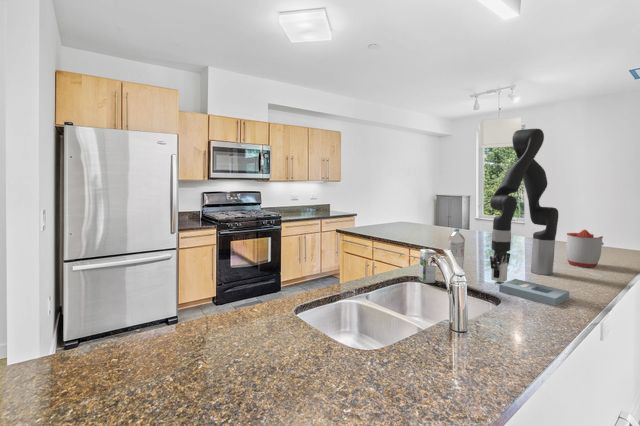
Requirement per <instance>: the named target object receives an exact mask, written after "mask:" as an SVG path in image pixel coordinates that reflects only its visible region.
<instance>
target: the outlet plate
mask: <svg viewBox="0 0 640 426" xmlns="http://www.w3.org/2000/svg"><path fill="white" fill-rule="evenodd" d="M498 291H499V293H503V294H506V295H511V296H515V297H519V298H521V299H525V300H529V301H533V302H535V303H536V302H537V303H541V304H543V305H547V306H551V307H556V306H559V305H560V304H562V303H564V302H566V301H568V300H569V299H570V291H569V290H567V289H561V288H557V287H552V286H549V285H543V284H540V283H535V282H531V281H526V280H522V279H519V278H518V279H517V278H514V279H511V280H509V281H508V280H507V281H504V282H501V283H499V286H498Z"/></svg>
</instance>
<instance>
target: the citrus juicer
mask: <svg viewBox="0 0 640 426" xmlns="http://www.w3.org/2000/svg"><path fill="white" fill-rule="evenodd" d="M603 238H604V236H598V237H594V234H593V233H590V232H589V231H588V230H587V229H583V230H581V231H580V232H567V233H566V246H565V253H566V258H567V259H566V260H567V262H568V264H569V265H571V266H574V267H575V266H576V267H579V268H596V267H597V265H598V264H599V261H600V259H601V256H602V248H603V247H602V246H604V242H603Z"/></svg>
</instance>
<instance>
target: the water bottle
mask: <svg viewBox="0 0 640 426" xmlns="http://www.w3.org/2000/svg"><path fill="white" fill-rule="evenodd" d="M447 242H448V243H447V244H448V245H447V251H448V250H451V252H452V254H453V256H454V259H455V260H456V262H457V264H458V265H459V266H460V267H461V268H462V269H463V271H464V268H465V266H464V265H465V242H466V238H465V237H464V235H463V234H462V233H460V229H459V228H454V232H452V233H451V234H450V235H449V236H448V237H447Z"/></svg>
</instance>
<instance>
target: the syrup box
mask: <svg viewBox="0 0 640 426" xmlns="http://www.w3.org/2000/svg"><path fill="white" fill-rule="evenodd" d="M434 255H437V251H435V250H433V249H430V248H423V249H422V248H421V249H420V250H419V269H418V270H419V271H418V280H419V281H420V282H422V283H423V284H433V283H436V274H437V273H436V272H437V265H436V266H429V265H428V264H427V260H428V259H429V258H430V257H431V256H434Z"/></svg>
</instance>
